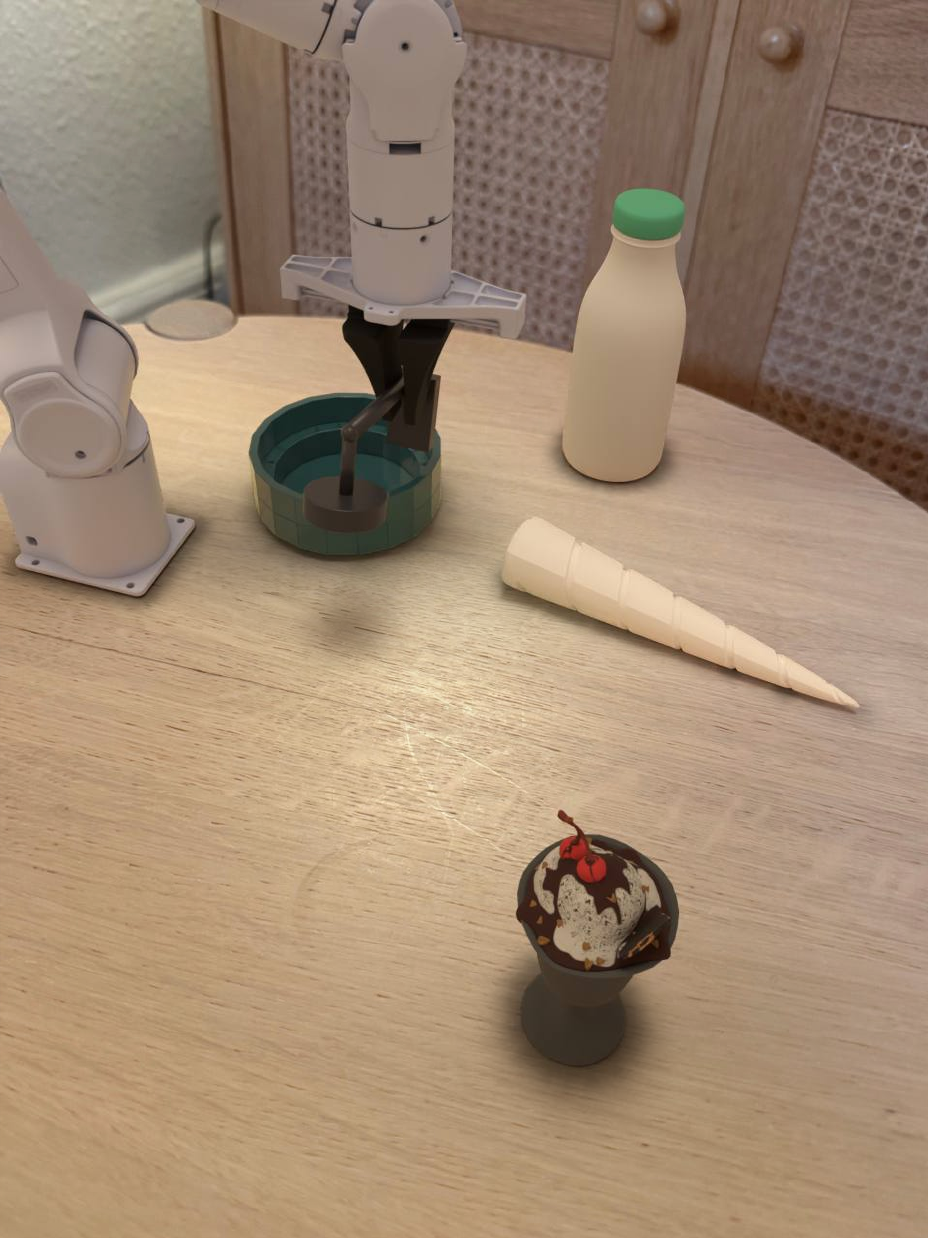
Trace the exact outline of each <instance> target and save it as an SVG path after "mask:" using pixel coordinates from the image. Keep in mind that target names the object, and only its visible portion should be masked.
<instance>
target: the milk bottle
mask: <svg viewBox="0 0 928 1238" xmlns="http://www.w3.org/2000/svg"><path fill="white" fill-rule="evenodd" d="M685 214H686V206H685V203H684V202H683V201H682V199H680V198H679V197H678V196H677V195H675V194H673V193H671V192H668V191H664V190H660V189H655V188H634V189H629V190H626V191H624V192H621V193H620V194H619V195H617V196H616V198H615V201H614V203H613V209H612V216H611V221H612V224H611V227H610V233H611V235H612V242H611V245H610V248H609V250H608V253H607V255H606V256H605V259H604V261H603V263H602V265H601V266H600V268H599V269H598V271H597V272H596V274H595V275H594V277H593V279H592V280H591V282H590V283H589V285H588V286H587V289H586V291H585V293H584V296H583V298H582V301H581V303H580V307H579V312H578V316H577V321H576V328H575V334H574V339H573V347H572V354H571V363H570V364H571V365H570V370H569V379H568V386H567V387H568V388H567V396H566V405H565V414H564V423H563V432H562V440H561V441H562V445H561V448H562V453H563V455H564V458H565V459H566V461H567V462H568V463H569V465H571V467H572V468H573V469H575V470H576V471H578V472H579V473H581V474H583V475H585V476H587V477H588V478H589V477H590V478H593V479H594V480H595V479H596V480H600V481H604V482H613V483H621V482H624V483H625V482H631V481H636V480H638V479H642V478H644V477H646V476H648V475H649V474H651V473H652V472H653V471H654V470H655V469H656V467H657V466H658V465H659V463H660V462H661V460H662V456H663V451H664V448H665V443H666V437H667V432H668V428H669V422H670V418H671V412H672V408H673V407H672V406H673V402H674V398H675V397H674V396H675V391H676V386H677V381H678V376H679V370H680V365H681V360H682V354H683V348H684V343H685V342H684V341H685V334H686V327H687V326H686V325H687V324H686V323H687V307H686V300H685V296H684V291H683V287H682V283H681V280H680V276H679V273H678V268H677V263H676V261H677V260H676V244H677V243H678V242H679V241H680V240H681V235H682V234H681V231H682V229H683V226H684V225H683V224H684V221H685Z"/></svg>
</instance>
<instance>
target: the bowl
mask: <svg viewBox="0 0 928 1238" xmlns="http://www.w3.org/2000/svg"><path fill="white" fill-rule="evenodd" d="M375 399H376V396H375V394H372V393H368V392H331V393H326V394H319V395H313V396H308V397H305V398H302V399H299V400H297V401H294V402H291V403H288V404H285V405H284V406H282V407H280V408H279V409H277V410H276V411H274V412H273V413H272V414H270V415H268V416H266V417H265V418H264V419H263V420H262V422H261V423H260V424H259V426H258V427H257V428H256V430H255V431H254V432H253V433H252V434H251V439H250V444H249V447H248V459H249V460H248V462H249V467H250V475H251V483H252V489H253V497H254V503H255V507H256V509H257V513H258V516H259V518H260V520H261V522H262V523H263V525H265V526H266V527H267V528H268V530H269V531H270V532H271V533H272V534H273V535H274V536H275V537H277V538H278V539H280V540H283V541H285V542H286V543H288V544H290V545H292V546H294V547H296V548H298V549H301V550H305V551H309V552H314V553H318V554H322V555H329V556H362V555H366V554H372V553H377V552H381V551H386V550H390V549H392V548H395V547H397V546H399V545H401V544H404V543H405V542H408V541H410V540H412V539H413V538H415V537H416V536H417V535H418V534H419V533H421V532H422V531H423V530H424V529H425V528H427V526H428V525H430V524H431V523H432V521H433V519H434V517H435V515H436V514H437V511H438V509H439V508H440V505H441V475H442V473H441V472H442V471H441V470H442V441H441V440H442V439H441V436H440V434H439V433H438V431H437V429H436V428H435V436H434V445H433V447H432V449H431V450H430V451H429V452H424V451H419V450H415V449H410V448H406V447H401V446H396V445H392V444H387V443H386V439H387V428H388V421H386V420H383V419H382V417H381V418H380V419H379V420H378V421H377V422H375V423H374V424H373V425H372V426H371V427H370V428H369V429H368V430H367V431H366V432H365V433H364V434H363V435H361V436H360V437H359V438H358V439H357V445H356V459H355V473H354V477H355V478H360V479H364V480H368V481H370V482H373V483H375V484H377V485H379V486H380V487H382V488H383V489H384V490H385V491H386V493H387V496H388V502H387V513H386V520H385V522H384V523H383V524H382V525H381V526H380V527H378V528H376V529H374V530H371V531H367V532H362V533H339V532H332V531H328V530H324V529H321V528H319V527H316V526H314V525H313V524H311V523H310V522H308V521H307V520H306V519H305V517H304V515H303V492H304V488H305V487H306V485H307V484H309V483H310V482H312V481H314V480H316V479H320V478H324V477H332V476H340V469H341V453H342V436H341V430H342V428H343V427H344V426H345V425H346V424H348V423H349V422H350V421H351V420H352V419H353V418H354V417H356V416H357V415H358V414H359V413H360V412H361V411H362V410H364V409H365V408H366V407H367V406H368V405H369V404H370V403H372V402H373V401H374V400H375Z"/></svg>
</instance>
